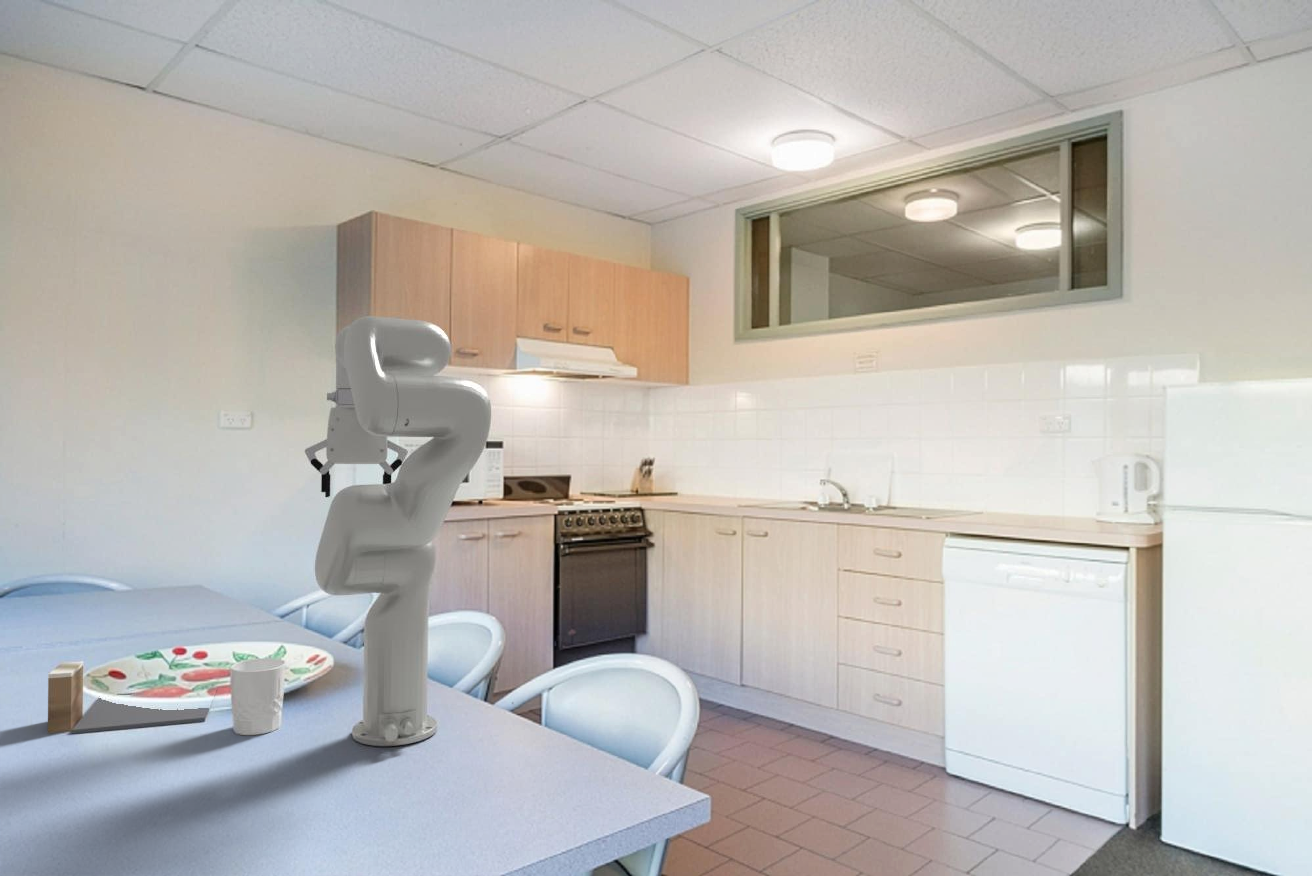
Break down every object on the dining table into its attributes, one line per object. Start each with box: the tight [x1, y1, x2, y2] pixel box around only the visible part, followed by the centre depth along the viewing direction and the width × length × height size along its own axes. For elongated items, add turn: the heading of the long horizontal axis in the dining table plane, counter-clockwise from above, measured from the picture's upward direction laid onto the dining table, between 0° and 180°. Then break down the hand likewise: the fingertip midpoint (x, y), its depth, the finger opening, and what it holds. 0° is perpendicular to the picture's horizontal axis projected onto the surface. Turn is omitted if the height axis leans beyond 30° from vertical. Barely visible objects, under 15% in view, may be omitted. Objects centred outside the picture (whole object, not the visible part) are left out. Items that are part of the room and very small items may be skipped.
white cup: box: [229, 657, 286, 736], centre depth 135 cm, size 8×8×10 cm
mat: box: [71, 692, 210, 735], centre depth 143 cm, size 18×18×1 cm
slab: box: [47, 660, 84, 734], centre depth 135 cm, size 7×3×9 cm, turn 21°
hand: (356, 496), depth 154 cm, fingers open, 9 cm apart
